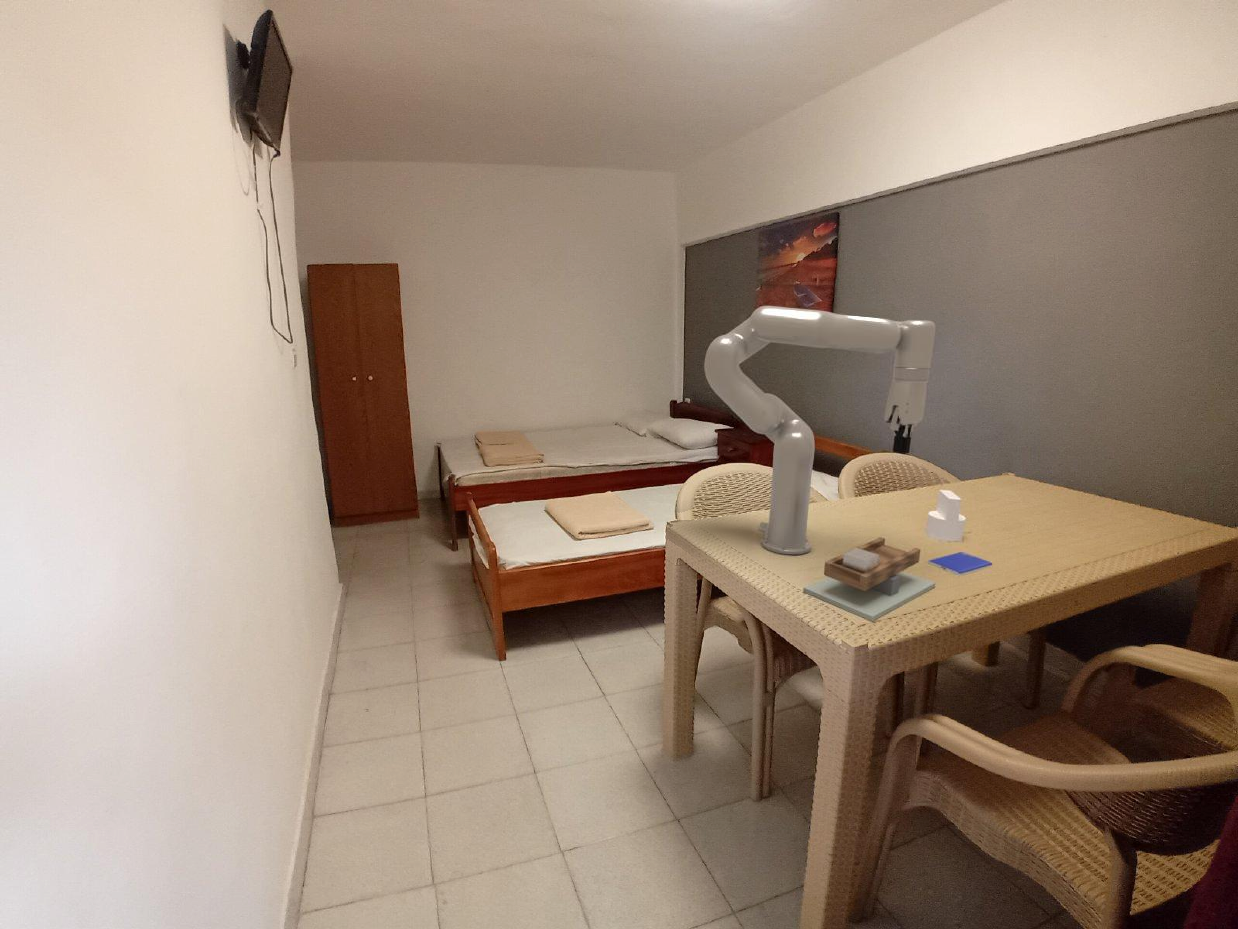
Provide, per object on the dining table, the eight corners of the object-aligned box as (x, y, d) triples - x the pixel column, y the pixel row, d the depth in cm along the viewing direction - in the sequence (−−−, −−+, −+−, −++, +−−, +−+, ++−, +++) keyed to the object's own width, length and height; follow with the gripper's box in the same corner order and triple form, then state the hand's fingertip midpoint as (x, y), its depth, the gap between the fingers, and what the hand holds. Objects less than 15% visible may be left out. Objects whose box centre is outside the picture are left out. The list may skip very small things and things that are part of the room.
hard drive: (960, 551, 150) (928, 559, 144) (992, 562, 143) (960, 571, 137) (959, 557, 150) (927, 565, 145) (991, 568, 143) (959, 578, 138)
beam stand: (868, 563, 144) (870, 545, 143) (934, 587, 131) (937, 567, 130) (803, 591, 128) (805, 571, 127) (872, 621, 116) (874, 599, 115)
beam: (879, 549, 139) (880, 537, 138) (918, 562, 132) (920, 549, 131) (823, 575, 126) (824, 562, 125) (864, 591, 119) (866, 577, 118)
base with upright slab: (967, 543, 158) (974, 500, 155) (931, 540, 160) (937, 498, 157) (955, 532, 166) (962, 491, 164) (921, 529, 168) (927, 489, 165)
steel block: (842, 571, 124) (843, 554, 123) (854, 565, 127) (856, 547, 126) (864, 579, 120) (866, 561, 119) (877, 572, 123) (879, 555, 122)
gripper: (910, 372, 144) (901, 446, 148) (878, 375, 135) (869, 453, 139) (942, 375, 138) (931, 451, 142) (910, 378, 129) (900, 459, 133)
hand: (900, 452), depth 141 cm, fingers closed
